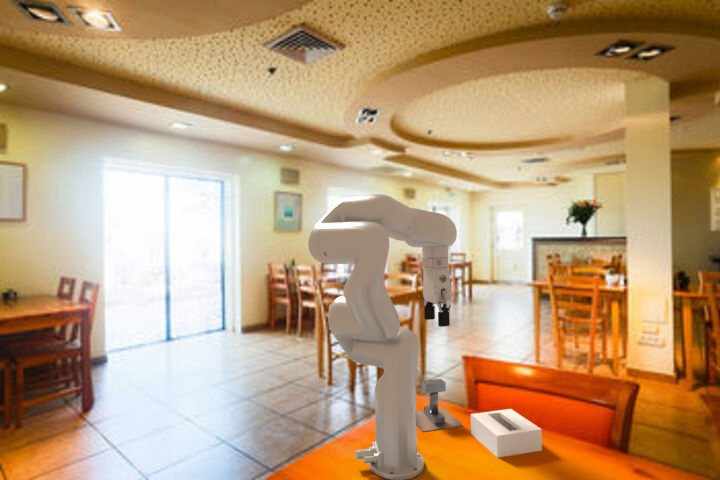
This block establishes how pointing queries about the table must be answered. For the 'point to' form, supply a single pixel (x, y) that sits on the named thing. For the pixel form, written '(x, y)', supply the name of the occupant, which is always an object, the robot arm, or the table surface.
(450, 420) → the grey flat square plate
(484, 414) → the block
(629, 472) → the table surface
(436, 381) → the t key
